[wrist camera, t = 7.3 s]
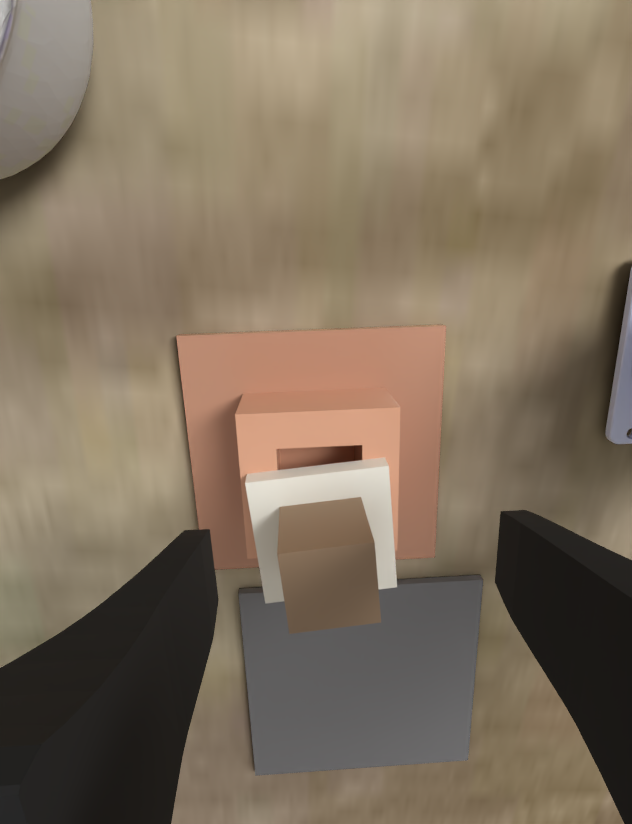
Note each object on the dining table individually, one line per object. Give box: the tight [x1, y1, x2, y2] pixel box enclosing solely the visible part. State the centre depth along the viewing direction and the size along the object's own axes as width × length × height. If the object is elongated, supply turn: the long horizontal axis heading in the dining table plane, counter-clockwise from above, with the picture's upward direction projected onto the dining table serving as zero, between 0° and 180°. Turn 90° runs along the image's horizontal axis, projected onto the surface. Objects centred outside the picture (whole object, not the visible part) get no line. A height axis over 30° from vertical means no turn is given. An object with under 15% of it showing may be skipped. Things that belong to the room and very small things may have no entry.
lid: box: [245, 457, 397, 634], centre depth 17 cm, size 5×5×4 cm
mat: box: [239, 575, 483, 776], centre depth 25 cm, size 12×12×1 cm
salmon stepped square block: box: [176, 325, 446, 570], centre depth 20 cm, size 11×11×4 cm
